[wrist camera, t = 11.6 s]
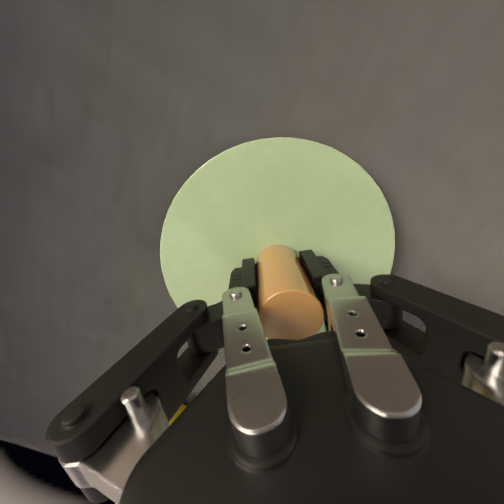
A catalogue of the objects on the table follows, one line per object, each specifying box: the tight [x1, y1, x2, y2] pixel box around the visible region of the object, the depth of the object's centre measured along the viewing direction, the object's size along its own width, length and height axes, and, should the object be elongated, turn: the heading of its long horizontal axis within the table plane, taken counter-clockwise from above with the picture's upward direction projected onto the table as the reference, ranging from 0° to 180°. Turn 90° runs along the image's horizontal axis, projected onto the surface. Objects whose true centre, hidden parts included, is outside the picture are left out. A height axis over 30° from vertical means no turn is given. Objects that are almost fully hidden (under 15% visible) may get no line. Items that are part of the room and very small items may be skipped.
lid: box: [160, 137, 395, 340], centre depth 13 cm, size 15×15×7 cm
